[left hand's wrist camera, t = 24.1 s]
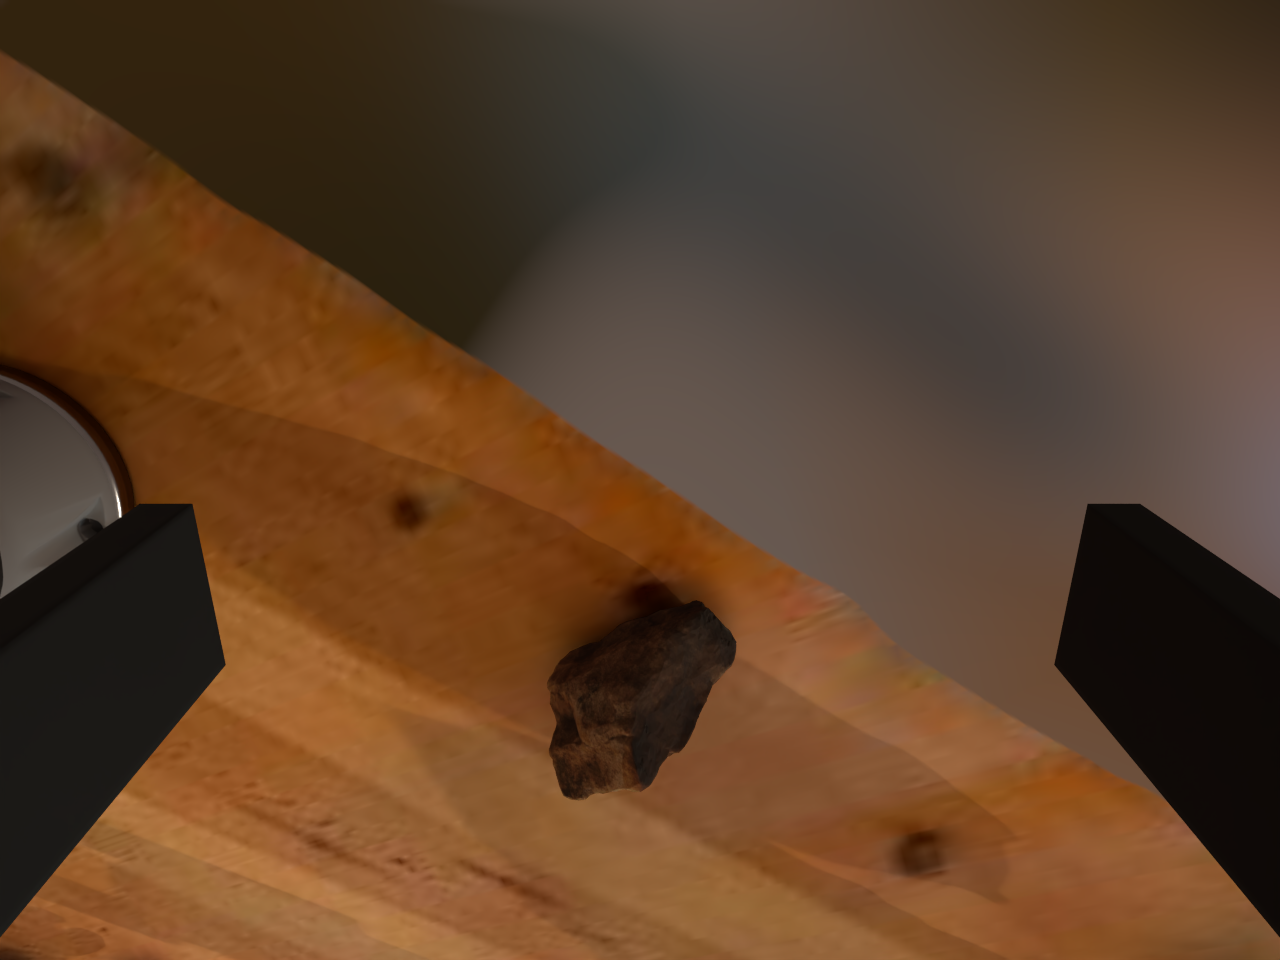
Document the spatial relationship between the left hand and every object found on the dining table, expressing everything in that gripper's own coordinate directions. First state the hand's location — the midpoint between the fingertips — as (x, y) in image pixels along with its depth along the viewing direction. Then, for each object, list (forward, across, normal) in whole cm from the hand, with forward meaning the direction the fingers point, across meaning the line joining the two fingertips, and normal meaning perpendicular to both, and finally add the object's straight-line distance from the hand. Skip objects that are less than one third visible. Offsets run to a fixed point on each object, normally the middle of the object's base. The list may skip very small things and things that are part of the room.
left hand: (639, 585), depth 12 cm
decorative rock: (+35, 0, -24) cm, 42 cm away
